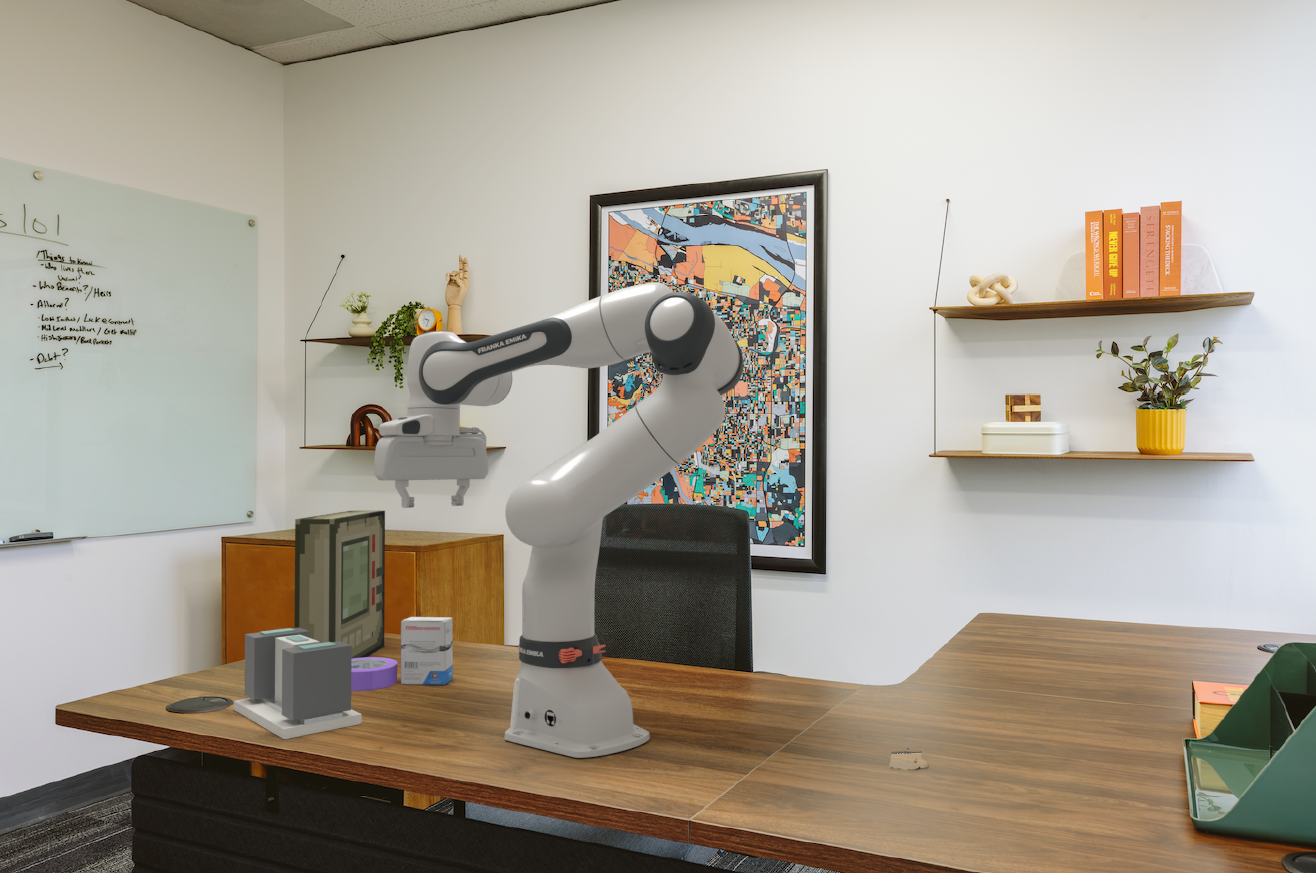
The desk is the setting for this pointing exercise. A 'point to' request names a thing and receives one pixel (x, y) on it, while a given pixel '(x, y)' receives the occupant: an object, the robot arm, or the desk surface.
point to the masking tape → (372, 673)
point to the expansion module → (279, 645)
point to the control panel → (341, 579)
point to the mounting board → (287, 727)
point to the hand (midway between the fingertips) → (433, 506)
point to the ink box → (426, 650)
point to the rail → (278, 706)
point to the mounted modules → (299, 674)
